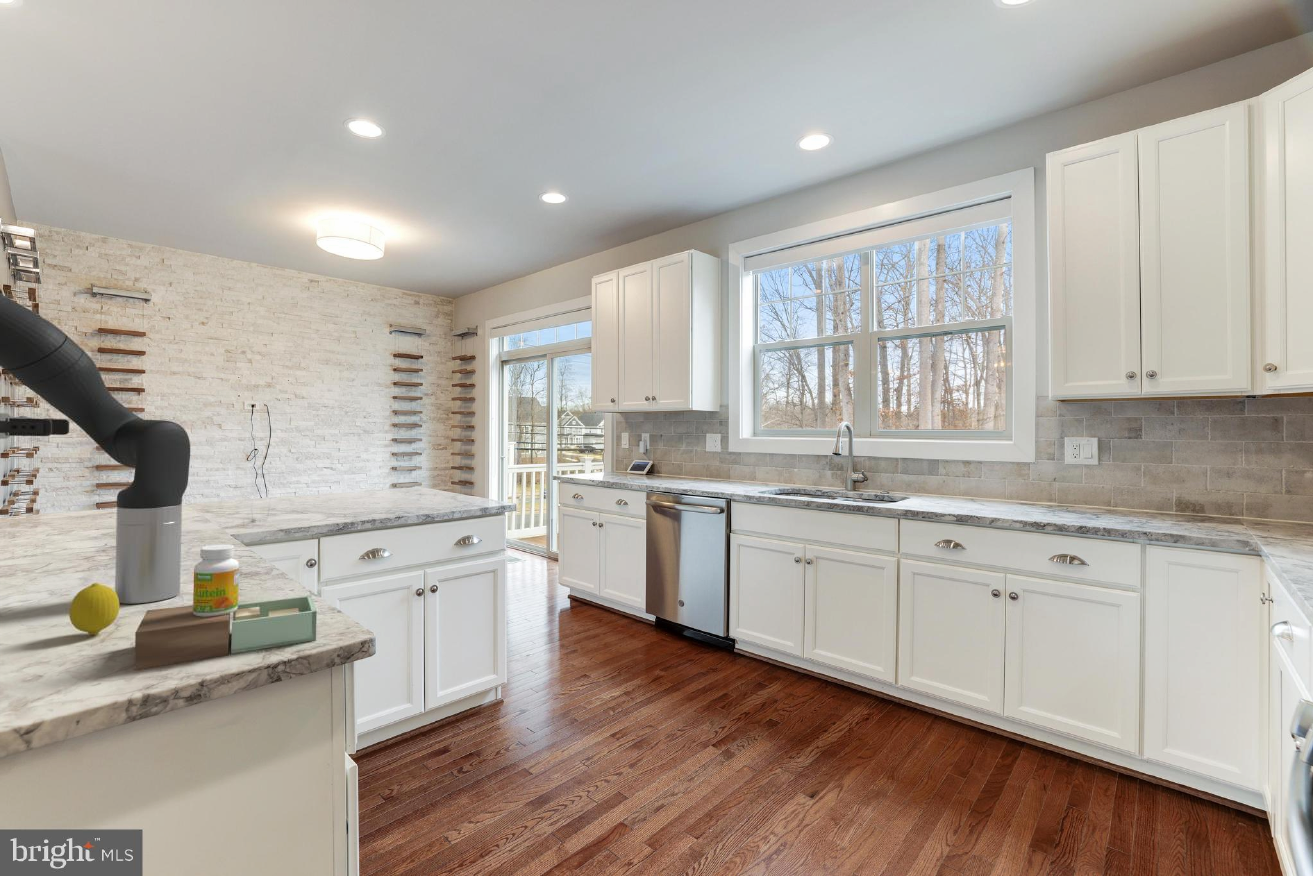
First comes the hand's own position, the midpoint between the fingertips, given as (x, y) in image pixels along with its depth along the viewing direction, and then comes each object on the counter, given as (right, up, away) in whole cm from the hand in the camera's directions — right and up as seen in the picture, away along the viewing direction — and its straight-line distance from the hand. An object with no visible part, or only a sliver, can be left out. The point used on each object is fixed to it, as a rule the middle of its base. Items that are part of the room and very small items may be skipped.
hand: (60, 427), depth 79 cm
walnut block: (+12, -32, +6) cm, 35 cm away
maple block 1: (+17, -30, +9) cm, 36 cm away
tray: (+21, -33, +12) cm, 41 cm away
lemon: (-6, -32, +11) cm, 34 cm away
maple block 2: (+22, -29, +13) cm, 39 cm away
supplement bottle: (+15, -28, +8) cm, 32 cm away
